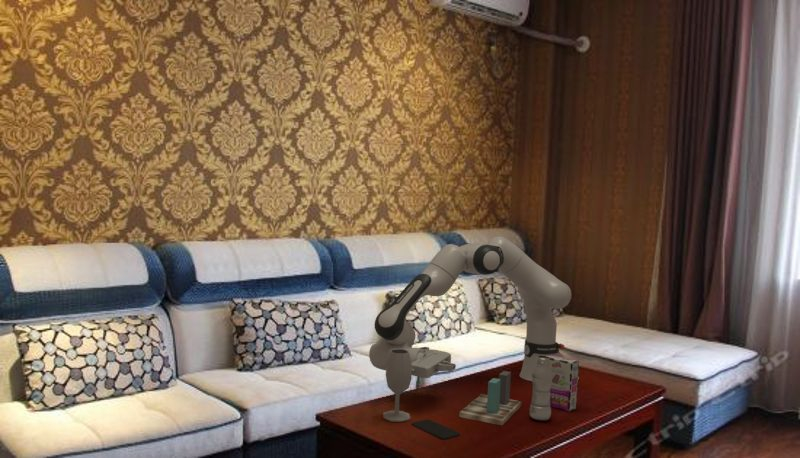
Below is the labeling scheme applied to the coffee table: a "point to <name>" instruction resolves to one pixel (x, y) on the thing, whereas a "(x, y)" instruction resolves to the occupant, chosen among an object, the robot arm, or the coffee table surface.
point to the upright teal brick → (493, 395)
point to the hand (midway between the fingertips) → (454, 367)
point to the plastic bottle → (541, 389)
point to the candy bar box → (563, 382)
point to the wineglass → (398, 381)
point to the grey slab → (505, 387)
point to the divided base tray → (479, 413)
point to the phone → (436, 429)
